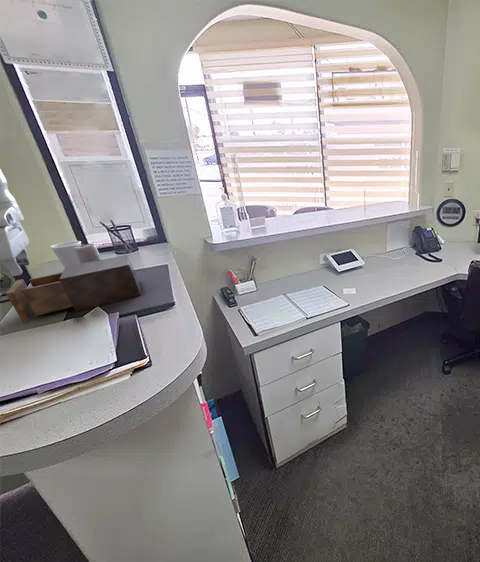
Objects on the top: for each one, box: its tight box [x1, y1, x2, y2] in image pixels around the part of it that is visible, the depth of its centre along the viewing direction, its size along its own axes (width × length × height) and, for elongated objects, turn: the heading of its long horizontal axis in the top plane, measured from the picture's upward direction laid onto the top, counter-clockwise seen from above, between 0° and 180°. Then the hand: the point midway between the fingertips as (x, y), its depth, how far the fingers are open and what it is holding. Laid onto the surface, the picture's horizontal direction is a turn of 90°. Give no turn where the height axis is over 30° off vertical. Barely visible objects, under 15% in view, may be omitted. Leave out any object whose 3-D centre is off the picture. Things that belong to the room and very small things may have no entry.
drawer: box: [0, 271, 74, 322], centre depth 82 cm, size 18×11×8 cm, turn 128°
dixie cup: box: [49, 240, 82, 268], centre depth 114 cm, size 8×8×10 cm
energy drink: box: [74, 243, 103, 264], centre depth 102 cm, size 5×5×12 cm
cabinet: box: [60, 254, 142, 313], centre depth 89 cm, size 15×13×10 cm
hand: (21, 269), depth 79 cm, fingers open, 8 cm apart
